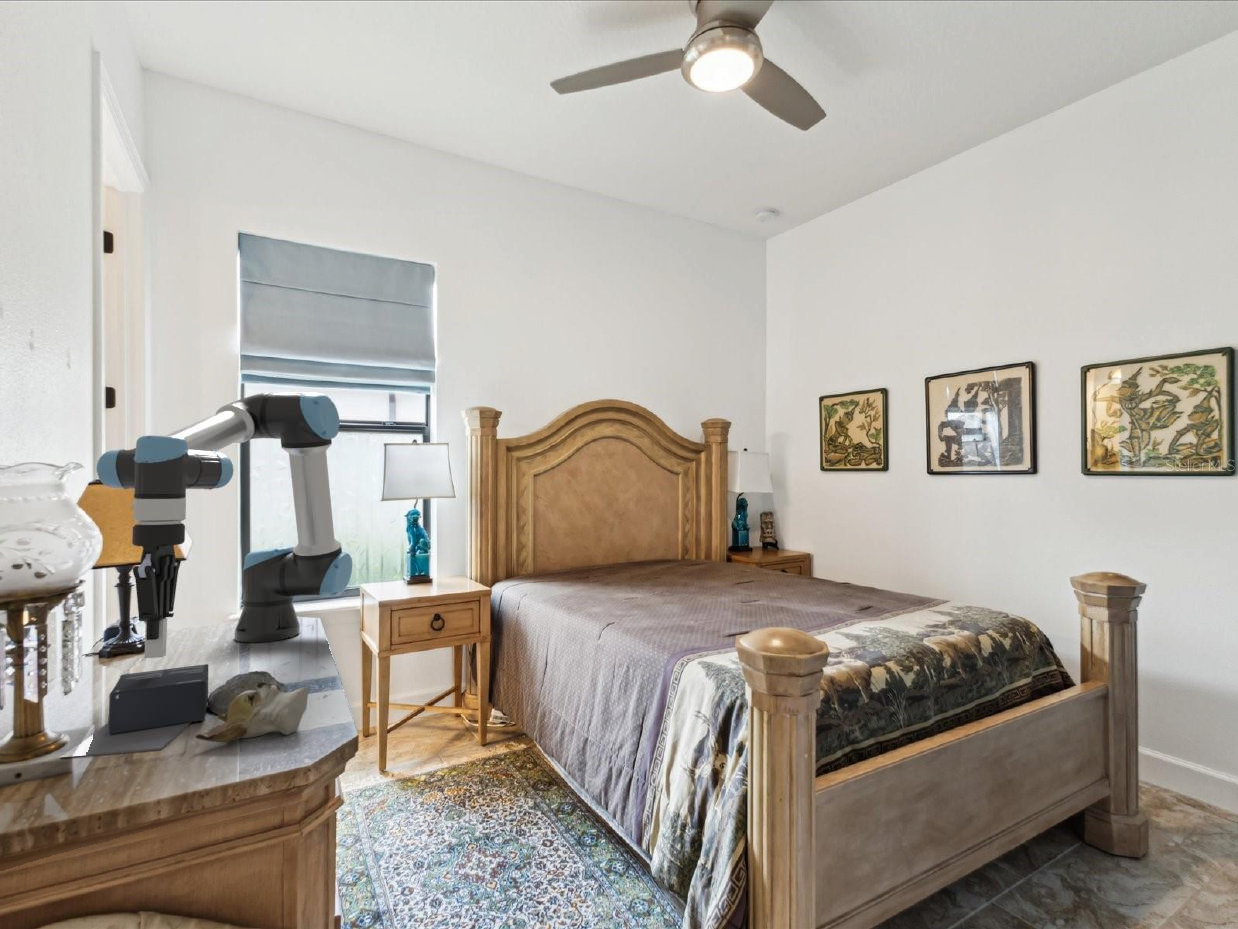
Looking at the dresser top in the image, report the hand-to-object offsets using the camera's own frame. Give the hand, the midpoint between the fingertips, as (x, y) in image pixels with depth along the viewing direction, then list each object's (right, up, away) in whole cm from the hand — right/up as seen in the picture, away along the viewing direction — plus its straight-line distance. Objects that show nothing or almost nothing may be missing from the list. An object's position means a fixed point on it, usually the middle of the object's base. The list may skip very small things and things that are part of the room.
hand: (155, 656), depth 111 cm
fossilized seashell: (+14, -11, +5) cm, 18 cm away
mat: (+4, -10, -8) cm, 13 cm away
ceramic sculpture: (+23, -10, -9) cm, 27 cm away
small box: (0, -7, +3) cm, 7 cm away
